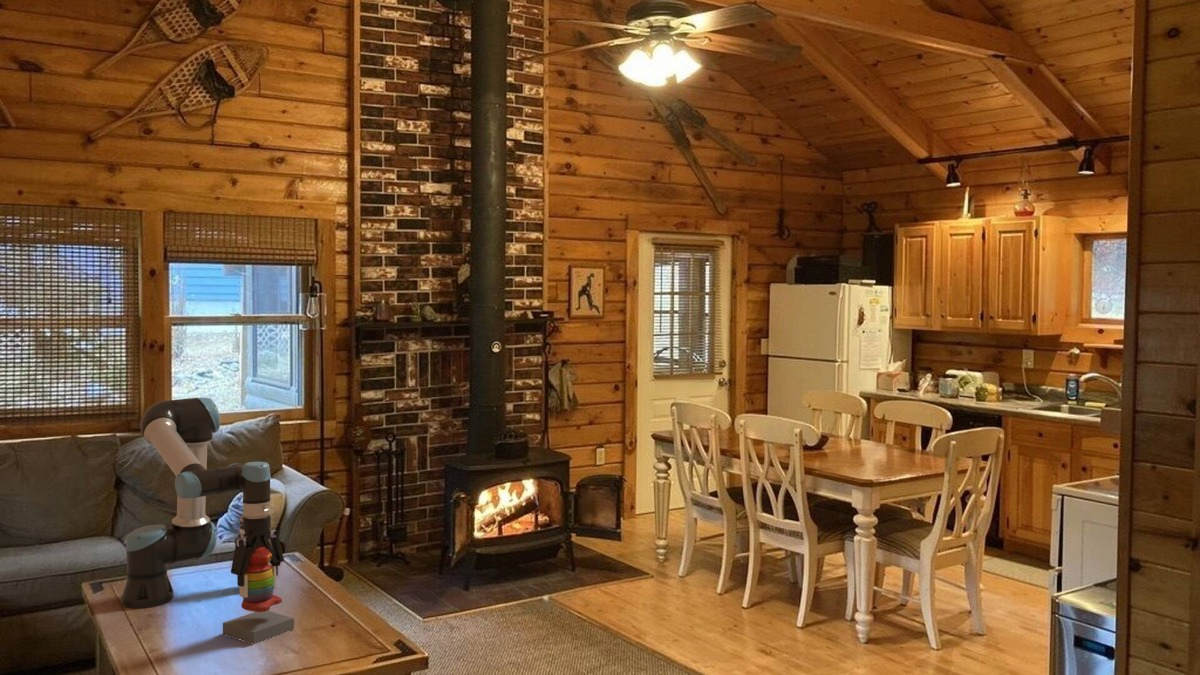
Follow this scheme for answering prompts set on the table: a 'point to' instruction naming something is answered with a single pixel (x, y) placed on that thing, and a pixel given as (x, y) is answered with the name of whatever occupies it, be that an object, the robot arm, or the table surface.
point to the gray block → (258, 626)
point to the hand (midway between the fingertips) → (258, 592)
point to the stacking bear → (260, 582)
